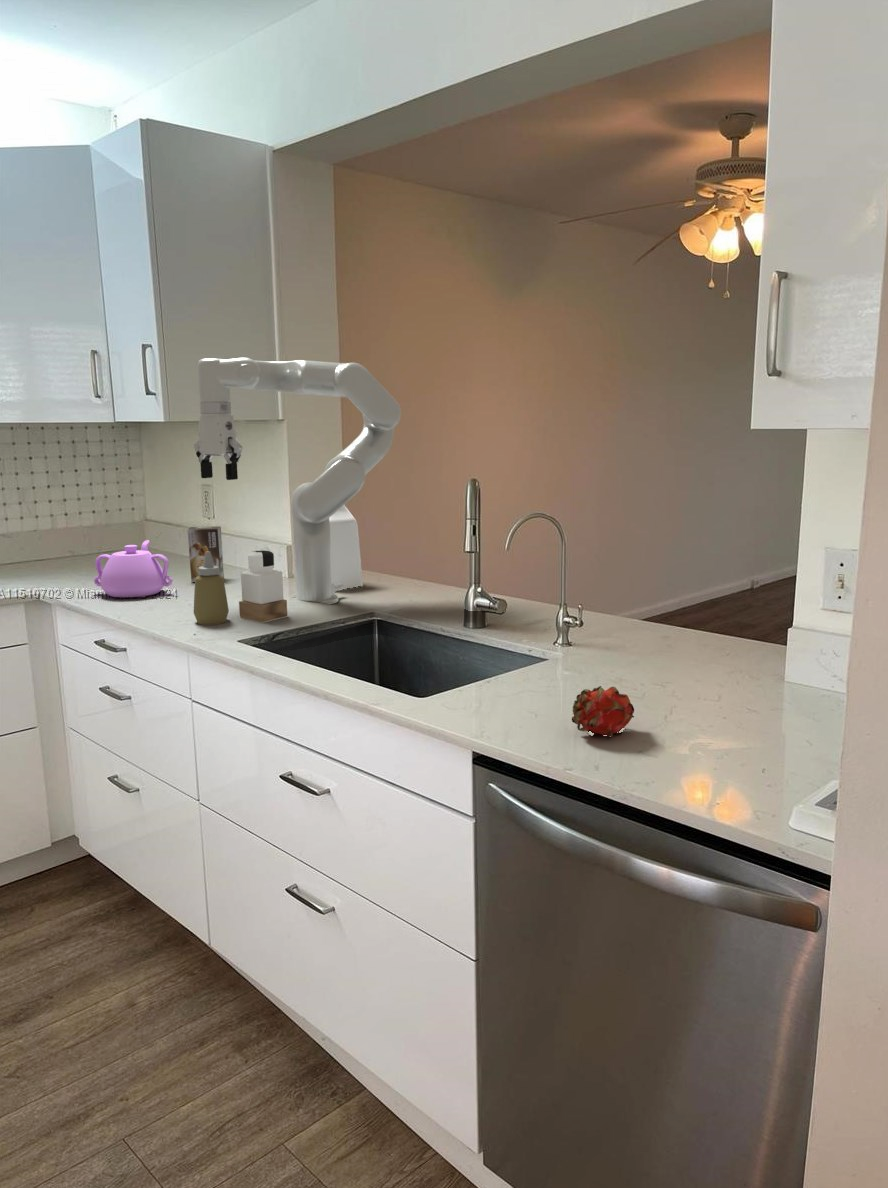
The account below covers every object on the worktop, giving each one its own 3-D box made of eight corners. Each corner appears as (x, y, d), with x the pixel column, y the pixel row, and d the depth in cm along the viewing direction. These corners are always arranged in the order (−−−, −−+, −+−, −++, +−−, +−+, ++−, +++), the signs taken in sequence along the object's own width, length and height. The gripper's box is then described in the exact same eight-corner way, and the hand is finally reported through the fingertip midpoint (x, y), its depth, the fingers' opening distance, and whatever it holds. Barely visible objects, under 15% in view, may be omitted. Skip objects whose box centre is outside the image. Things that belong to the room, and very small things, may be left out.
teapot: (187, 585, 267) (184, 538, 264) (163, 600, 246) (160, 550, 243) (113, 585, 267) (109, 538, 264) (82, 600, 246) (78, 550, 243)
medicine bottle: (264, 596, 224) (262, 548, 222) (284, 599, 220) (282, 550, 217) (241, 601, 219) (239, 551, 216) (261, 605, 214) (258, 554, 212)
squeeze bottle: (194, 631, 211) (189, 555, 208) (194, 624, 219) (189, 550, 215) (230, 629, 213) (226, 553, 210) (228, 621, 221) (224, 548, 217)
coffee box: (225, 578, 277) (222, 525, 274) (221, 582, 271) (218, 528, 267) (194, 579, 276) (191, 526, 273) (190, 583, 270) (186, 529, 267)
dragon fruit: (565, 748, 143) (624, 745, 148) (596, 731, 136) (657, 729, 142) (552, 697, 146) (611, 696, 152) (583, 677, 139) (643, 677, 145)
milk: (328, 592, 256) (325, 499, 250) (305, 586, 264) (302, 496, 259) (362, 586, 264) (360, 496, 258) (339, 580, 272) (336, 493, 267)
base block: (265, 611, 226) (264, 595, 225) (287, 616, 221) (286, 599, 220) (239, 617, 219) (239, 601, 218) (262, 622, 215) (261, 605, 214)
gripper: (250, 409, 224) (253, 479, 228) (205, 409, 235) (209, 476, 238) (226, 409, 218) (230, 481, 222) (181, 409, 229) (185, 478, 232)
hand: (219, 478), depth 230 cm, fingers open, 9 cm apart
